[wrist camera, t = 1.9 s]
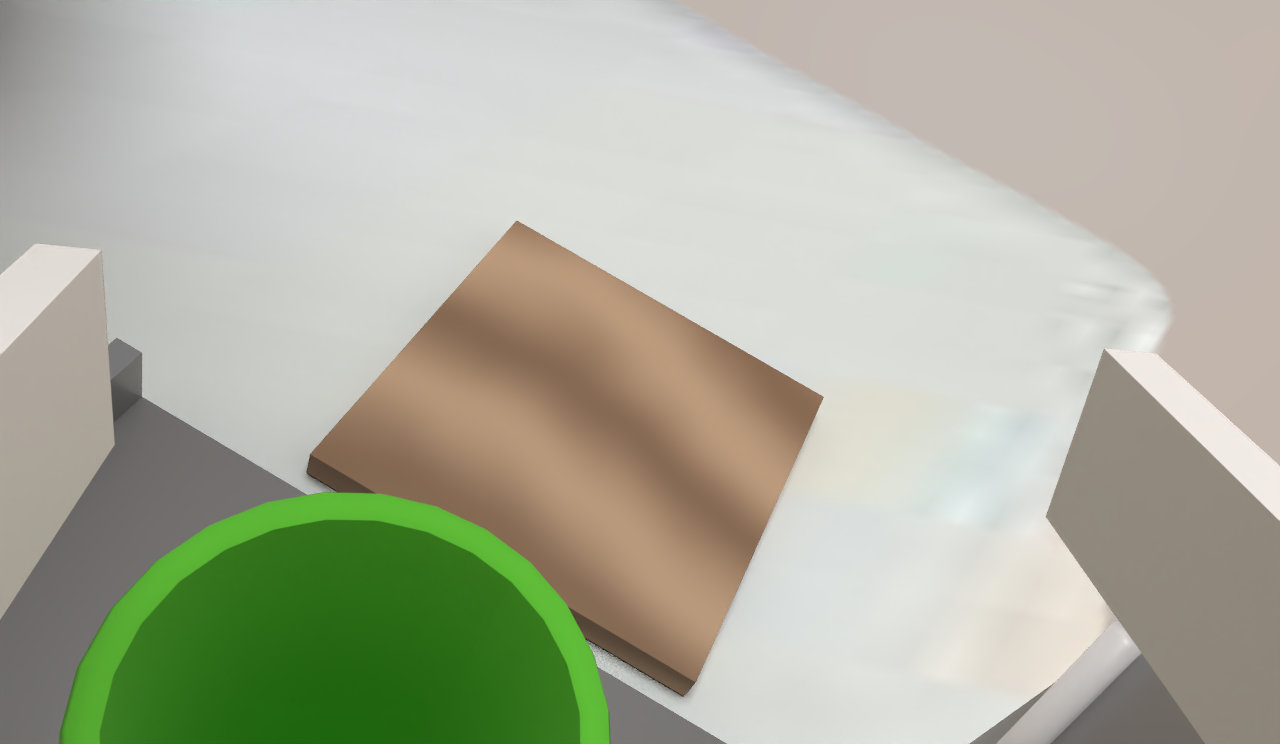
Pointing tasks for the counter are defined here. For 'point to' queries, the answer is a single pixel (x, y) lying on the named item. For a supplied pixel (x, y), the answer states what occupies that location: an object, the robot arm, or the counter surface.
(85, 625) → the equipment case
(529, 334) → the board
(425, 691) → the cup
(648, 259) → the counter surface
